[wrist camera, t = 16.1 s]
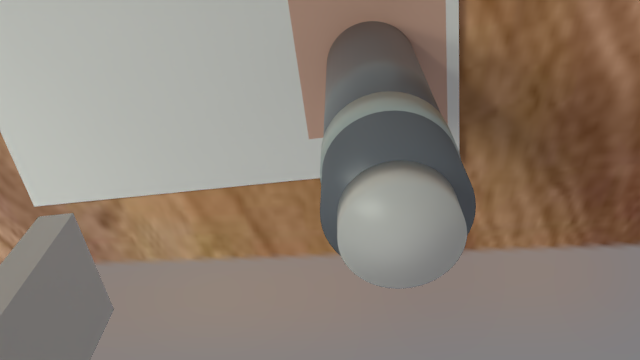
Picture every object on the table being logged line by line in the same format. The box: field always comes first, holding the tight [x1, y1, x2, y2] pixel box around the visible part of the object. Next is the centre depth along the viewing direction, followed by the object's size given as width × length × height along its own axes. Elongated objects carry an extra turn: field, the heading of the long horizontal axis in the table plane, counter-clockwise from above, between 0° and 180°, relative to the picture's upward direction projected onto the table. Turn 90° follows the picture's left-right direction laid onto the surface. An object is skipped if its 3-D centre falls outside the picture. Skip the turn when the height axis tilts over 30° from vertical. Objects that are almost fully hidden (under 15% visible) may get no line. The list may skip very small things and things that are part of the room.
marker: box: [320, 21, 476, 289], centre depth 17 cm, size 4×4×12 cm
